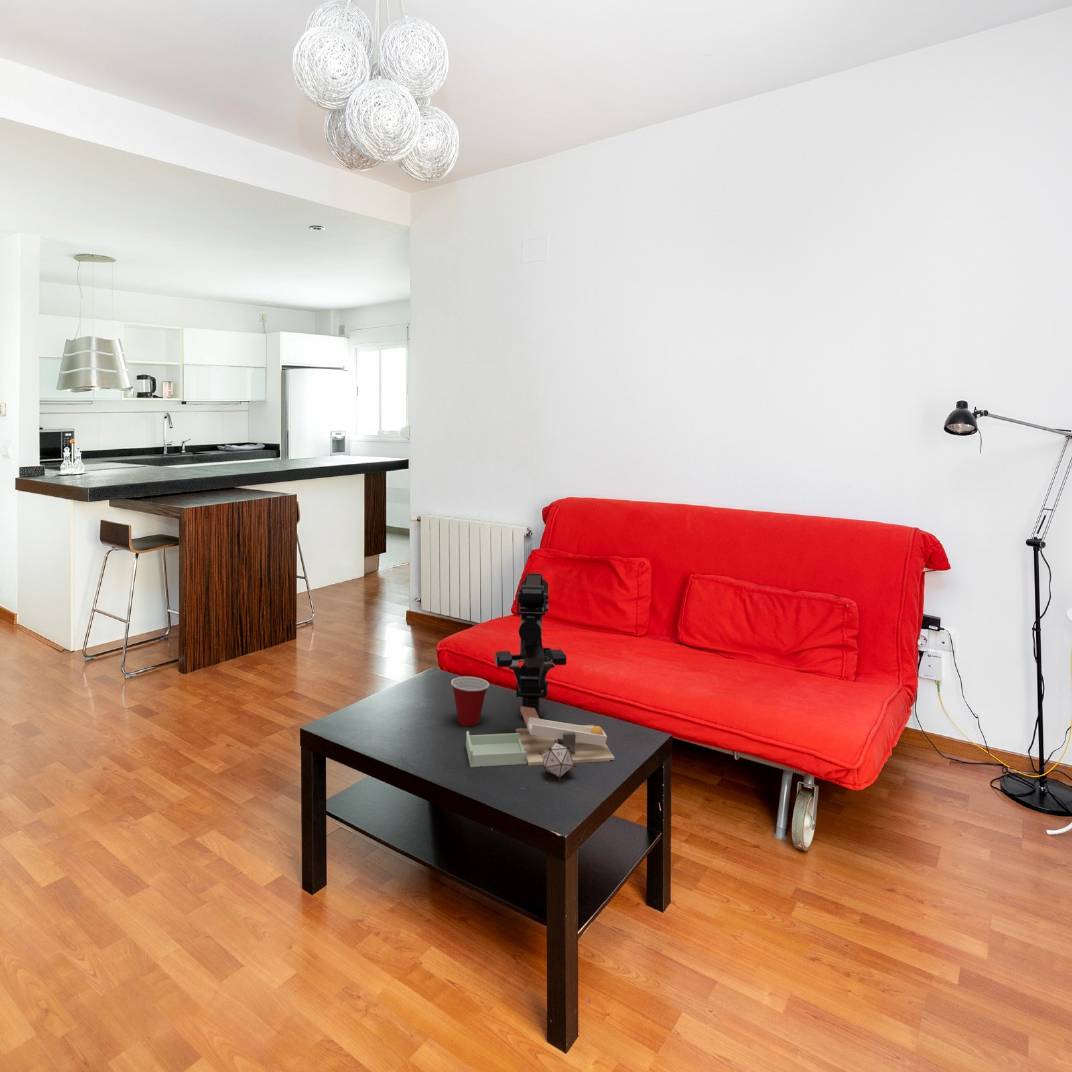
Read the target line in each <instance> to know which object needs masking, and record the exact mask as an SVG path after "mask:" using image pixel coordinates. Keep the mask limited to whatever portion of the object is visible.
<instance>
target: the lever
mask: <svg viewBox="0 0 1072 1072" xmlns="http://www.w3.org/2000/svg"><path fill="white" fill-rule="evenodd" d="M519 710H520V711H521V713H522V716H523V718H524V723H525V726H526V728H528V730H529V732H530V735H537V736H543V737H549V738H556V739H562V740H563V734H567V733H575V735H576V736H575V742H582V743H588V744H594V745H601V746H605V744H606V743H607V738H608V736H607V734H606V733H605V731H604V730H603V734H602V735H599V734H593V733H591V730H592V728H593V727H587V726H584V725H580V724H574V723H569V722H560V721H556V720H555V721H554V720H549V719H544V718H543V719H540V718H539V716H538V714H537V712H536V710H535V708H529V707H523V706H521V705H520V709H519ZM568 723H569V724H568Z"/></svg>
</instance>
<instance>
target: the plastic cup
mask: <svg viewBox="0 0 1072 1072" xmlns="http://www.w3.org/2000/svg"><path fill="white" fill-rule="evenodd" d="M450 684H451V686H452V690H453V695H454V702H455V708H456V709H455V710H456V714H457V719H458V720H457V721H458V723H459V725H461V726H463V727H473V726H476V725H478V724H480V720H481V715H482V711H483V706H484V702H485V696H486V693H487V690H488V688H489V687H490V683H489V682H488V680H485V679H483V678H480V677H475V676H459V677H455V678H453V679H452V680H451V683H450Z"/></svg>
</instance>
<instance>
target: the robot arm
mask: <svg viewBox="0 0 1072 1072" xmlns="http://www.w3.org/2000/svg"><path fill="white" fill-rule="evenodd" d="M543 577H544V575H543V573H542V574H541V573H533V572H530V573H525V578H524V579H523V580H522V581H521V582H520V585H519V586H520V588H519V590H517V599H516V616H520V623H519V628H518V635H519V640H520V642H519V648H520V649H519V654H512V653H511V651H510V650H500V651H496V652H495V653H494V663H495V665H496V667H498V668H508V670H512V672H513V674H514V677H515V680H516V684H515V685H516V690H515V691H516V698H521V700H520V702H521V703H520V707H521V706H523V707H529V708H535V710H536V712H537V714H538V716H539V718H540V719H543V720H544V715H543V713H542V708H541V706H542V705H541V704H542V698H543V699H546V698H547V697H548V696H549V695H548V694H549V682H548V680H547V678H546V677H547V674H548V672H550V670H551V669H555V666H565V665H567V655H566V653H565V652H564V650H562V649H561V648H560V649H552V648H551V647H544V646H543V642H542V641H543V638H542V637H543V616H546V615H547V614H546V613H547V612H549V582H547V581H546V580H545V579H544V578H543ZM522 662H523V663H522ZM519 663H522V665H521V666H520V664H519ZM517 712H518V715H519V717H520V720H524V718H523V716H522V713H521V711H520V709H518V711H517ZM524 721H525V720H524Z"/></svg>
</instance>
